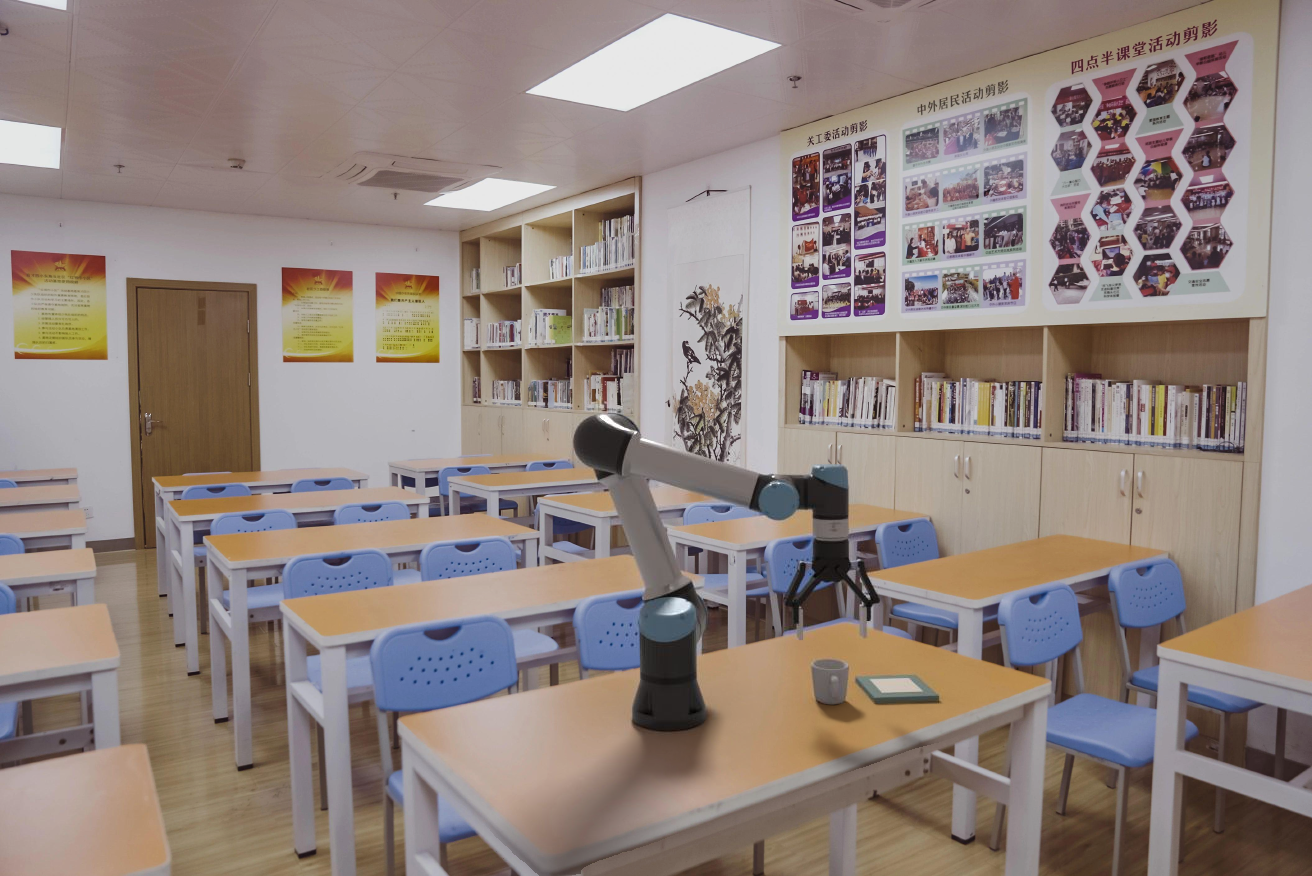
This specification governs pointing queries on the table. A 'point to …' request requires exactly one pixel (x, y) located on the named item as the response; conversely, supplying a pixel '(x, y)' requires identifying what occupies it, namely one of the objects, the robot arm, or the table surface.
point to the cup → (830, 680)
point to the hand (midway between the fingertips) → (831, 637)
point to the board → (896, 688)
